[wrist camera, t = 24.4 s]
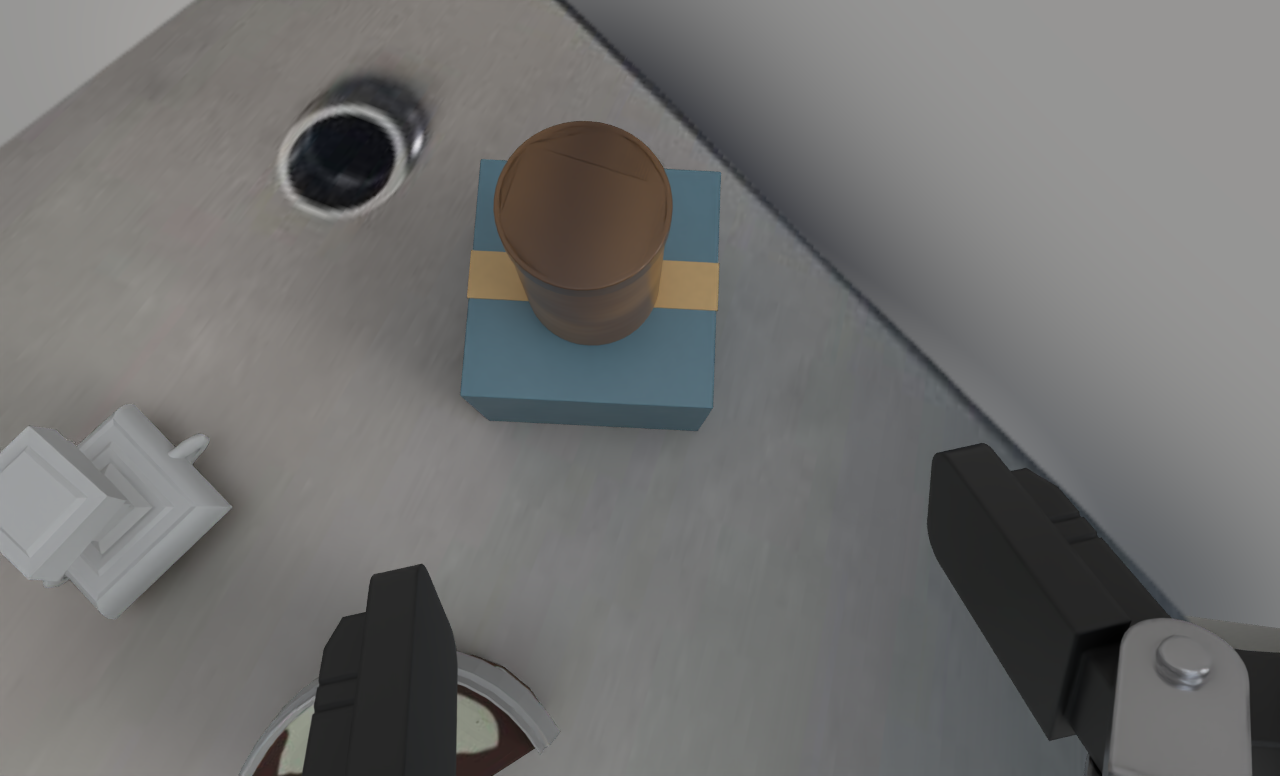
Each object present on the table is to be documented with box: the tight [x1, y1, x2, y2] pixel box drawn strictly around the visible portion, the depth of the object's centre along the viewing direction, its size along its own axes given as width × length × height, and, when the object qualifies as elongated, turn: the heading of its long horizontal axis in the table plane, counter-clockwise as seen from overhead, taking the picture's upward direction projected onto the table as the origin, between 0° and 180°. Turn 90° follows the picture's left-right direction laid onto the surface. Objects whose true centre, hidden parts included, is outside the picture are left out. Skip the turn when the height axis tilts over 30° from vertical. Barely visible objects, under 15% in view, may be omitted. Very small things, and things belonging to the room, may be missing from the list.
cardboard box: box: [460, 159, 721, 431], centre depth 38 cm, size 10×10×7 cm
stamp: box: [0, 404, 233, 619], centre depth 35 cm, size 9×7×8 cm
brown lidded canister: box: [493, 121, 673, 345], centre depth 30 cm, size 6×6×8 cm
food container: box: [239, 651, 561, 776], centre depth 33 cm, size 12×6×10 cm, turn 121°
